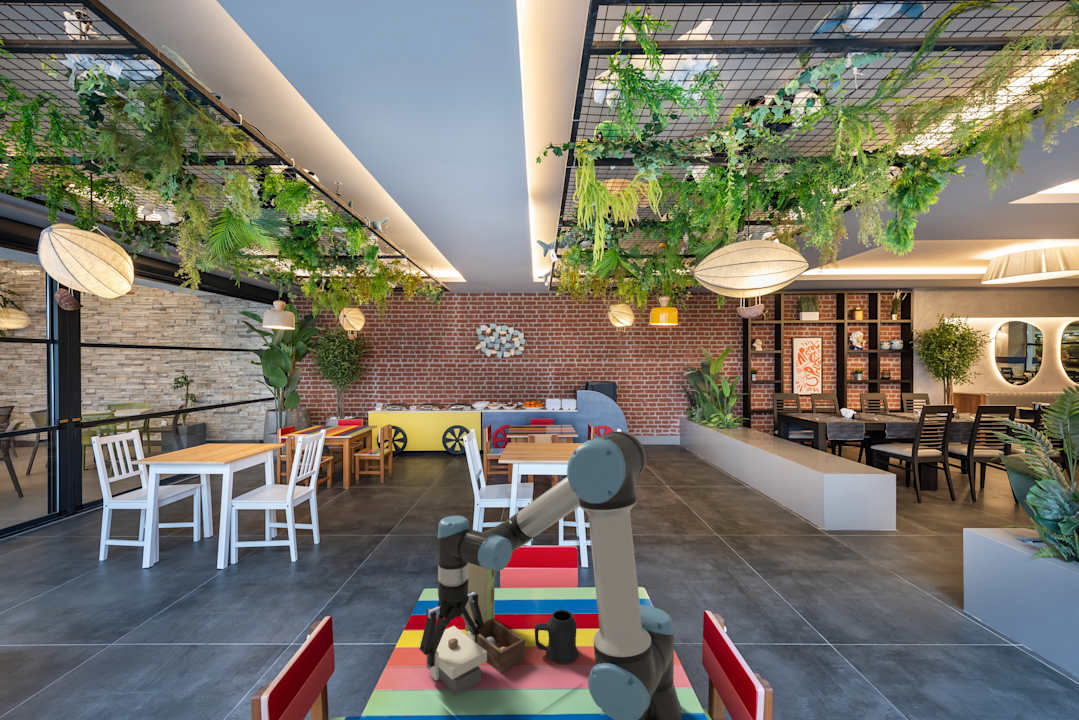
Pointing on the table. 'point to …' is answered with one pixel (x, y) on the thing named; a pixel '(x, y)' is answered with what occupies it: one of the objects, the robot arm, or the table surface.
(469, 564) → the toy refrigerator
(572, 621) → the mug
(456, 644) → the lid
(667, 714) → the robot arm
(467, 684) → the block
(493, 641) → the ball bluegrey
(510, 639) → the box
